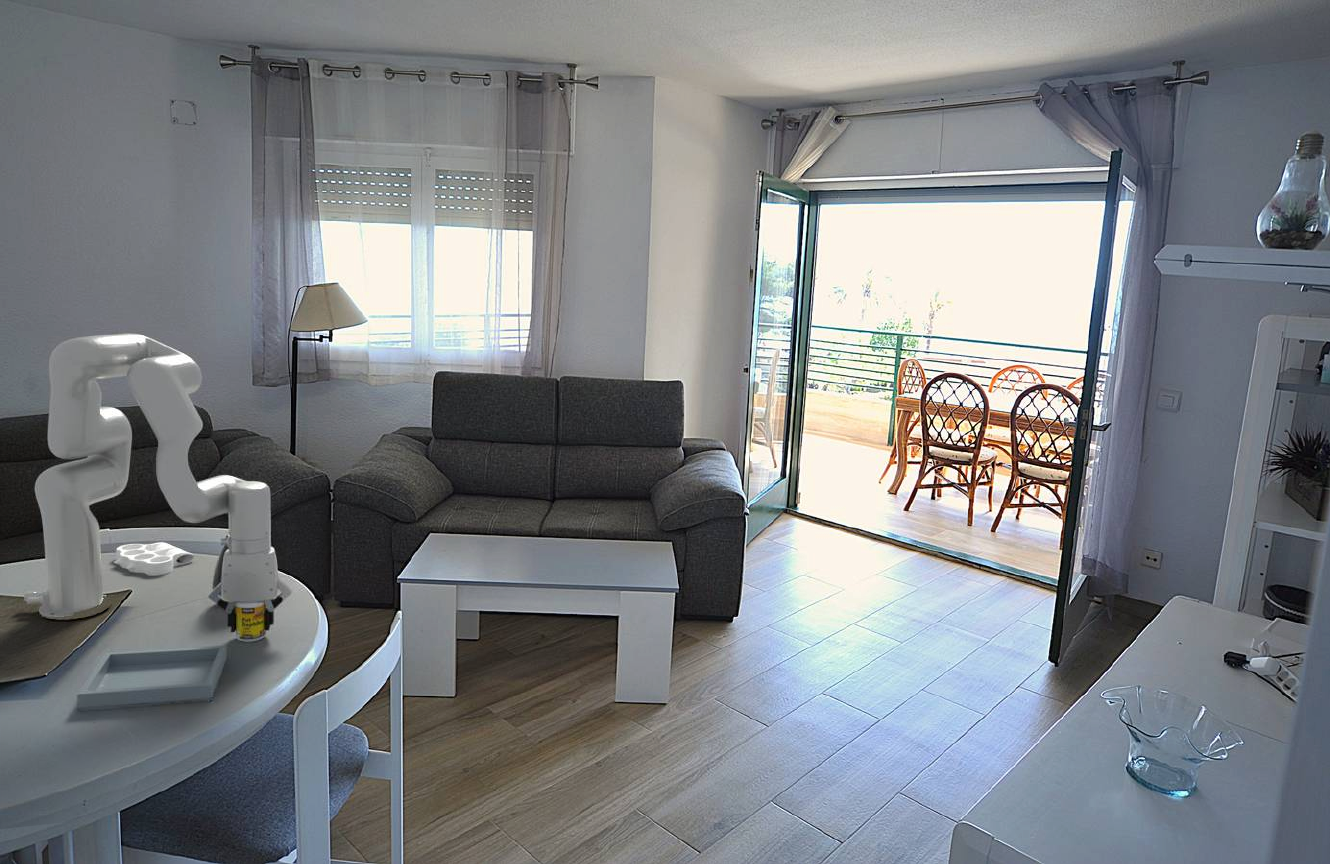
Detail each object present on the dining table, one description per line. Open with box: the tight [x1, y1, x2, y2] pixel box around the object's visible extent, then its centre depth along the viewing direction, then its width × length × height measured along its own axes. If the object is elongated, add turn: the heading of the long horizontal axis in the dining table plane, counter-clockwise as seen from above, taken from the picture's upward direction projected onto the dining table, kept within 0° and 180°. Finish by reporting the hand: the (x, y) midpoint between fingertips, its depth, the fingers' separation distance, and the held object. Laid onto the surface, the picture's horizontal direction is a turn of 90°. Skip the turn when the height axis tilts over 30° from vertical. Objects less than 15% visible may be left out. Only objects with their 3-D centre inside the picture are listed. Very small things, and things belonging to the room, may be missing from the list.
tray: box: [76, 645, 228, 712], centre depth 154 cm, size 20×16×3 cm
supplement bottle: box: [235, 601, 267, 643], centre depth 174 cm, size 6×6×10 cm
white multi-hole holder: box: [112, 541, 195, 577], centre depth 210 cm, size 3×18×15 cm
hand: (251, 627), depth 175 cm, fingers closed on supplement bottle, 5 cm apart
